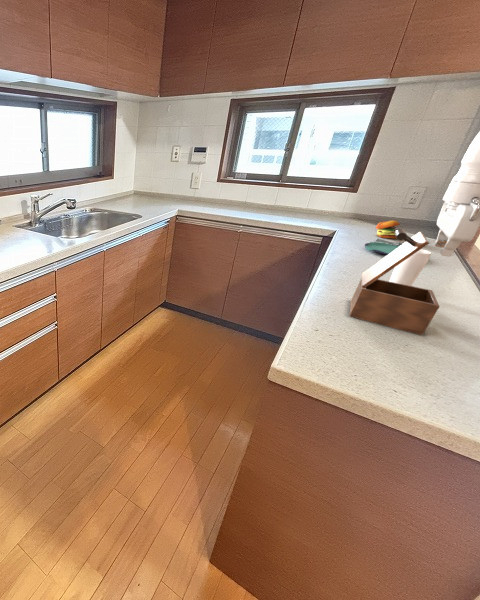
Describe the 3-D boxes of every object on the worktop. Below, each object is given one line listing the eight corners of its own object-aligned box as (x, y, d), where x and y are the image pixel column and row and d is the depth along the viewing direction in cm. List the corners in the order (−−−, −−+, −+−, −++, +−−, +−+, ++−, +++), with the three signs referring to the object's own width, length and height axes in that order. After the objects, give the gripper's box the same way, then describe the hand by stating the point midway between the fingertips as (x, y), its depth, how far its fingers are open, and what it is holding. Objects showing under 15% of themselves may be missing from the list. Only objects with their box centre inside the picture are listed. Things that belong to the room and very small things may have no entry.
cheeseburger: (395, 240, 168) (398, 221, 165) (370, 240, 177) (372, 221, 175) (404, 238, 172) (407, 219, 170) (379, 238, 181) (381, 219, 179)
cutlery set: (358, 251, 150) (360, 247, 149) (371, 240, 168) (373, 236, 167) (416, 263, 137) (419, 258, 136) (423, 250, 155) (426, 245, 154)
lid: (422, 233, 88) (404, 221, 89) (429, 243, 79) (408, 229, 80) (364, 275, 99) (348, 264, 100) (364, 288, 90) (347, 275, 91)
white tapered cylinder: (403, 290, 111) (426, 249, 104) (412, 298, 106) (436, 255, 99) (379, 287, 114) (399, 246, 107) (386, 294, 108) (408, 251, 101)
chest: (416, 317, 95) (432, 290, 91) (422, 335, 86) (439, 306, 82) (350, 301, 103) (362, 275, 99) (349, 316, 94) (362, 288, 90)
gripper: (505, 202, 68) (468, 264, 74) (480, 191, 82) (451, 244, 88) (462, 199, 71) (430, 258, 77) (445, 189, 86) (420, 240, 92)
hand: (441, 251), depth 83 cm, fingers open, 8 cm apart
